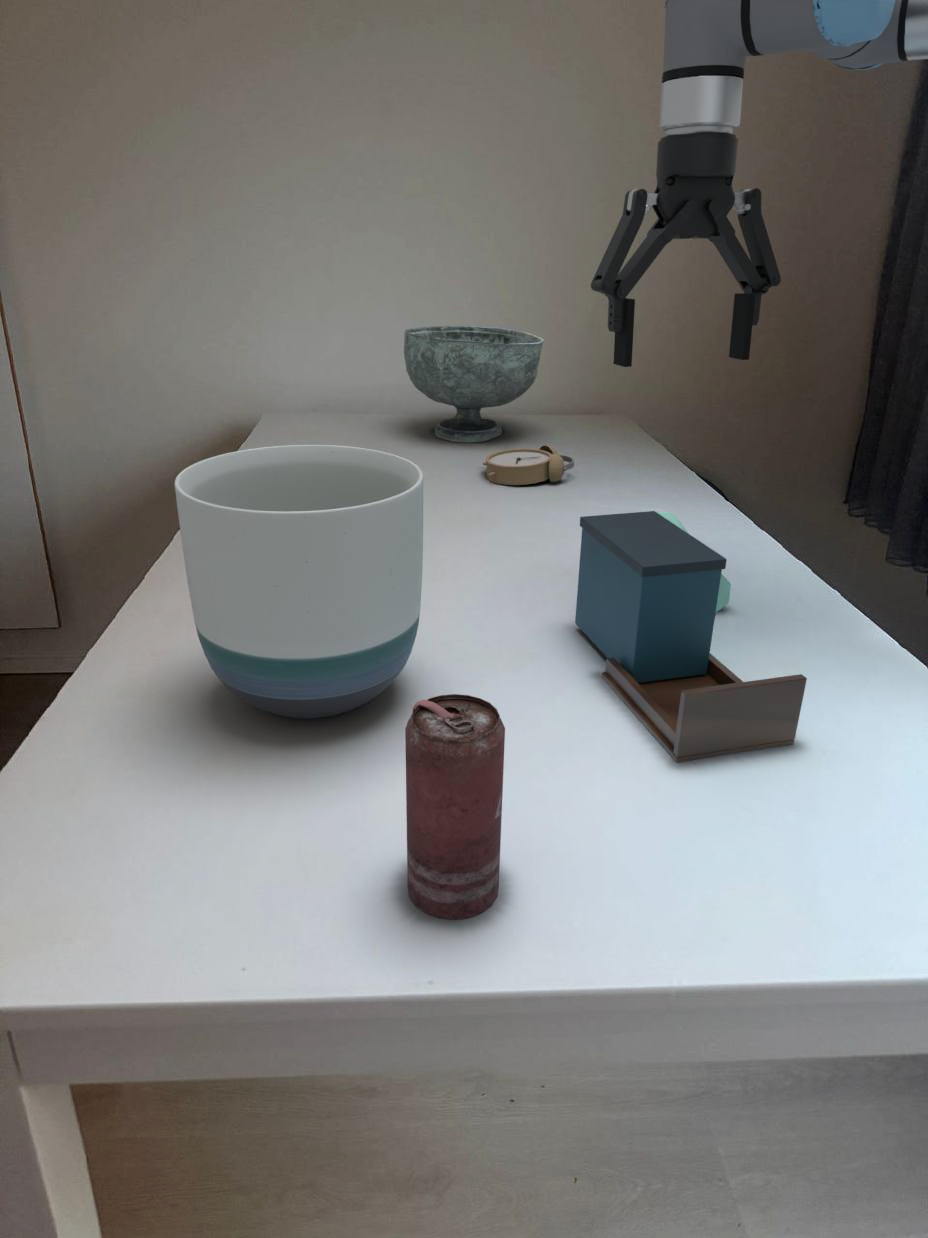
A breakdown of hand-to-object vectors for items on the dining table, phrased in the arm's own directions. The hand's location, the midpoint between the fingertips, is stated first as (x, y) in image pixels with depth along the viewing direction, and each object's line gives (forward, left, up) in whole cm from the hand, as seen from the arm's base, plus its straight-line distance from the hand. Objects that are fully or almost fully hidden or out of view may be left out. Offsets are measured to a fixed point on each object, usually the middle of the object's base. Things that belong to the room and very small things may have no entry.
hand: (681, 362), depth 95 cm
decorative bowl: (+40, -74, -28) cm, 89 cm away
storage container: (+1, +16, -26) cm, 31 cm away
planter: (+29, +32, -28) cm, 52 cm away
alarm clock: (+23, -47, -28) cm, 59 cm away
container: (-3, -9, -28) cm, 29 cm away
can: (+10, +54, -28) cm, 62 cm away
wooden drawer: (-5, +25, -27) cm, 37 cm away
